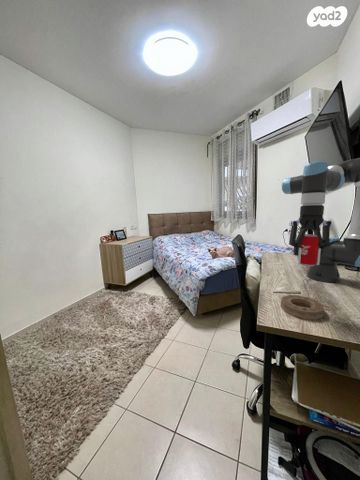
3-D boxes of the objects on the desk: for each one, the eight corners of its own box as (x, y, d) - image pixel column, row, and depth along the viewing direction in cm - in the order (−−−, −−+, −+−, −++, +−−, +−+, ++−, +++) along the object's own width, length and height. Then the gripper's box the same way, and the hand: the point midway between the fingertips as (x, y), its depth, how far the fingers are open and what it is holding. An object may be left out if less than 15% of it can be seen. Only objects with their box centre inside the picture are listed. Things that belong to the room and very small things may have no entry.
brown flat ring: (310, 301, 82) (310, 295, 82) (331, 320, 68) (332, 312, 68) (276, 300, 84) (276, 294, 83) (290, 318, 70) (290, 311, 70)
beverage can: (299, 261, 81) (301, 233, 79) (316, 264, 77) (319, 234, 75) (296, 265, 76) (298, 235, 74) (315, 267, 72) (318, 236, 70)
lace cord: (299, 292, 91) (299, 290, 91) (300, 293, 90) (300, 291, 90) (272, 291, 93) (272, 289, 93) (272, 292, 92) (273, 290, 92)
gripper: (333, 205, 75) (327, 262, 78) (281, 205, 78) (277, 260, 81) (347, 204, 68) (339, 267, 71) (289, 204, 71) (285, 265, 74)
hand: (306, 263), depth 76 cm, fingers closed on beverage can, 6 cm apart
